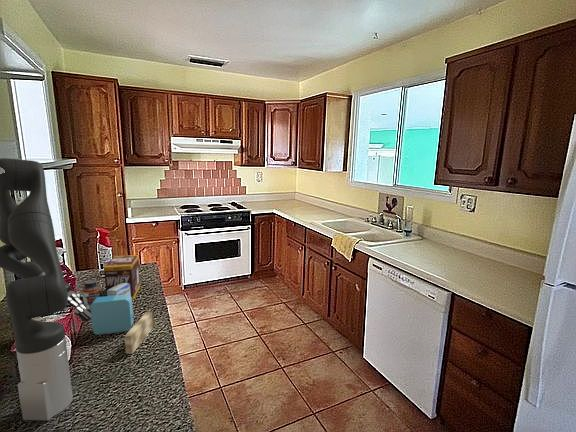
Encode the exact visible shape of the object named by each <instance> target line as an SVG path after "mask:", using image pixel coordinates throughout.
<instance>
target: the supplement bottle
mask: <svg viewBox="0 0 576 432" xmlns="http://www.w3.org/2000/svg"><path fill="white" fill-rule="evenodd" d="M81 291H82V292H83V293H85V296H86V300H87V303H88V305H87V306H86V310H87V311H89V312H91V309H90V306H91V304H92V303H93V301H94V300H95V299H96V298H97V297H101V289H100V285H98V282H97V280H95V279H89V280H86V281H84V287H82V290H81ZM82 292H81V293H82Z"/></svg>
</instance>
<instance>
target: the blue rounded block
mask: <svg viewBox="0 0 576 432" xmlns="http://www.w3.org/2000/svg"><path fill="white" fill-rule="evenodd" d="M90 309H91V311H90V313H91V318H92V319H91V325H92V332H93V334H94V335H98V336H99V335H107V334H114V333H115V334H116V333H123V332H129V331H130V330H131V328H132V327H133V323H134V311H133V310H134V309H133V300H132V297H131V296H130V295H128V294H125V295H115V296H100V297H97V298H96V299H95V300H94V301H93V303H92V304H91V306H90Z"/></svg>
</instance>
